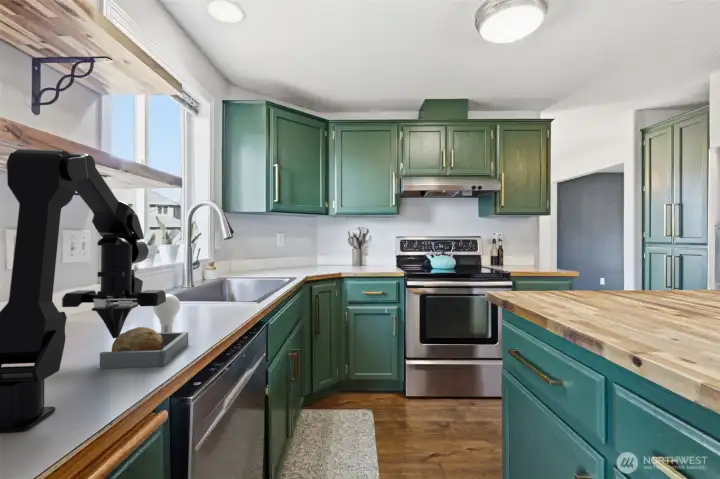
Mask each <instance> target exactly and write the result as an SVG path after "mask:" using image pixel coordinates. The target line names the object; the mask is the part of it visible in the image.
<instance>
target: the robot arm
mask: <svg viewBox="0 0 720 479" xmlns="http://www.w3.org/2000/svg"><path fill="white" fill-rule="evenodd" d="M5 164H6V179H7V180H6V182H7V183H6V185H7V186H8V188H9V190H10V191H11V193H12V194H13V196H14V197H15V199H16V201H17V202H18V215H17V223H16V231H15V232H16V233H15V242H14V248H13V249H14V250H13V258H12V259H13V261H12V268H11V278H10V286H9V295H8V300H7V303H6V304H5V305H4V307H3V308H2V309H1V310H0V433H6V432H7V433H8V432H22V431H26V430H29V429H30V428H32V426H34V425H36V424H37V423H39V422H40V421H42V420H43V419H45V418H46V417H47V416H49V415H50V414H51V413H53V412H54V411H56V406H45V379H48V378H49V377H51V376H53V375H55V374H56V373H58V372H59V371H60V369H61V365H62V364H61V363H62V360H63V353H64V350H65V344H66V337H67V336H66V322H67V317H68V316H67V314H66V312H65V311H60V310H58V308H57V306H56V305H55V303H54V302H53V296H54V285H55V276H56V275H55V274H56V265H57V254H58V246H59V234H60V223H61V214H62V208H63V207H64V206H65V205H66V204H67V203H68V202H69V201H70V200H71V199H72V198H73V197H74V196H75V194H76V193H77V194H78V196H79V197H80V198H81V199H82V200H83V201H84V203H85V204H86V206H87V207H88V208H89V209H90V210H91V212H92V214H93V217H92V220H91V223H92V224H93V226H94V228H95V230H96V231H97V233H99V236H101V238H100V239H99V240H98V241H97V246H99V247H100V271H97V277H98V278H100V290H98V291H96V290H95V289H94V290H92V289H91V290H88V289H87V290H86V289H85V290H81V289H79V290H74V291H69V292H66V293H64V294H63V296H62V298H61V307H62V308H78V307H79V306H81V304H83V303H86V304H87V303H88V304H89V303H93V307H92V308H91V311H92V312H96V314H98V316H99V317H100V319H101V320H102V321H103V323H104V325H105V326H106V328H107V330H108V332H109V334H110V336H111V338H112V339H116V338H117V337H118V336H119V335H120V334H121V332H122V329H123V327H124V325H125V322H126V319H127V318H128V316H129V314H130V313H131V311H132V310H133V309H135V308H136V307H138V306H139V307H153V306H158V305H160V304H162V303H164V302H166V294H167V293H166V292H165V291H164V290H163V289H147V290H143V284H144V283H143V282H144V281H143V280H142V279H140V278H138V277H137V276H135V274H136V273H135V269H133V268H132V266H133V264H137V263H142V262H144V261H145V260H146V259H147V257H148V256H149V253H150V252H149V250H150V249H149V248H148V245H147V244H146V242H144V241H143V240H144V239H145V236H144V233H143V229H142V225H141V222H140V219H139V216H138V214H136V211H135V210H134V209H133V207H131V206H130V205H129V204H127V203H125V202H123V201H122V200H121V201H120V200H118V199H117V198H116V196H115V195H114V192H113V191H112V189H111V188H110V186H109V185H108V184H107V182H106V181H105V179H104V178H103V176H102V175H101V173H100V172H99V170H98V169H97V167H96V161H95V159H94V157H93V156H92V155H89V154H87V153H77V152H76V153H75V152H68V151H66V150H60V149H59V150H57V149H33V148H31V149H30V148H19V149H16V150H15V151H13V152H10V154H9V155H8V158H7V161H6V163H5ZM142 290H143V291H142ZM17 364H18V365H19V364H33V365H21V366H20V365H19V366H18V365H17ZM2 365H14V366H2ZM15 365H16V366H15Z"/></svg>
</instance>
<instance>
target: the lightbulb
mask: <svg viewBox="0 0 720 479" xmlns="http://www.w3.org/2000/svg"><path fill="white" fill-rule="evenodd" d="M165 294H166V302H164V303H162V304H160V305H158V306H152V310H153V312H154V314H155V316H156V317H157V318H158V320H159V323H160V333H167V332H173V323H174V320H175V318H176V316H177V314H178V313H179V311H180V308H181V302H180V300H179V298H178V297H177V296H176V295H174V294H172V293H165Z"/></svg>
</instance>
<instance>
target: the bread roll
mask: <svg viewBox="0 0 720 479" xmlns="http://www.w3.org/2000/svg"><path fill="white" fill-rule="evenodd" d="M159 333H160V332H157V331H156V330H154V329H152V328H150V327H145V326H138V327H135V328H132V329H129V330H127V331H125V332H123V333H120V335H119V336H118V337H117V338H114V341H113V342H112V346H111V352H118V351H153V350H162V349H163V348H164V346H163V338H162V336H161V335H160V334H159Z"/></svg>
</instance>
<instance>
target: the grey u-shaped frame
mask: <svg viewBox="0 0 720 479" xmlns="http://www.w3.org/2000/svg"><path fill="white" fill-rule="evenodd" d="M158 333H159V334H160V335H161V336H162V338H163V349H162V350H153V351H118V352H112V351H102V352H100V353H99V369H100V368H103V369H128V368H155V367H156V368H157V367H160V368H161V367H165V366H166V365H168V364H169V363H170V362H171V361H172V360H173V359H174V358H175V357H176V356H177V355H178V354H179V353H181V352H182V351H183V350H184V349H185V348H186V347H187V346H188V345H189V331H179V332H176V331H175V332H173V331H172V332H167V333H161V332H158Z"/></svg>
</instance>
